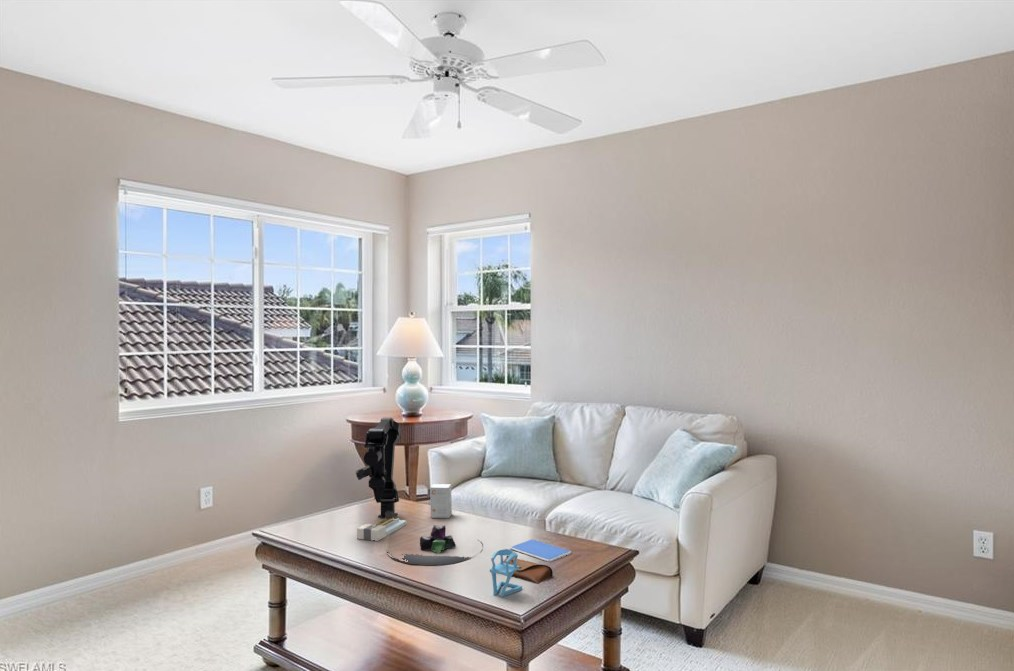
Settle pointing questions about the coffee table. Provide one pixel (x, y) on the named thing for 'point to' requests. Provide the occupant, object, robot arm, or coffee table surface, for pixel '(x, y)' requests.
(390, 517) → the bolt
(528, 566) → the sunglasses case
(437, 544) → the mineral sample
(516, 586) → the chair
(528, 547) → the tablet computer
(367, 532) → the door and jamb
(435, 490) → the small box
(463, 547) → the coffee table surface
